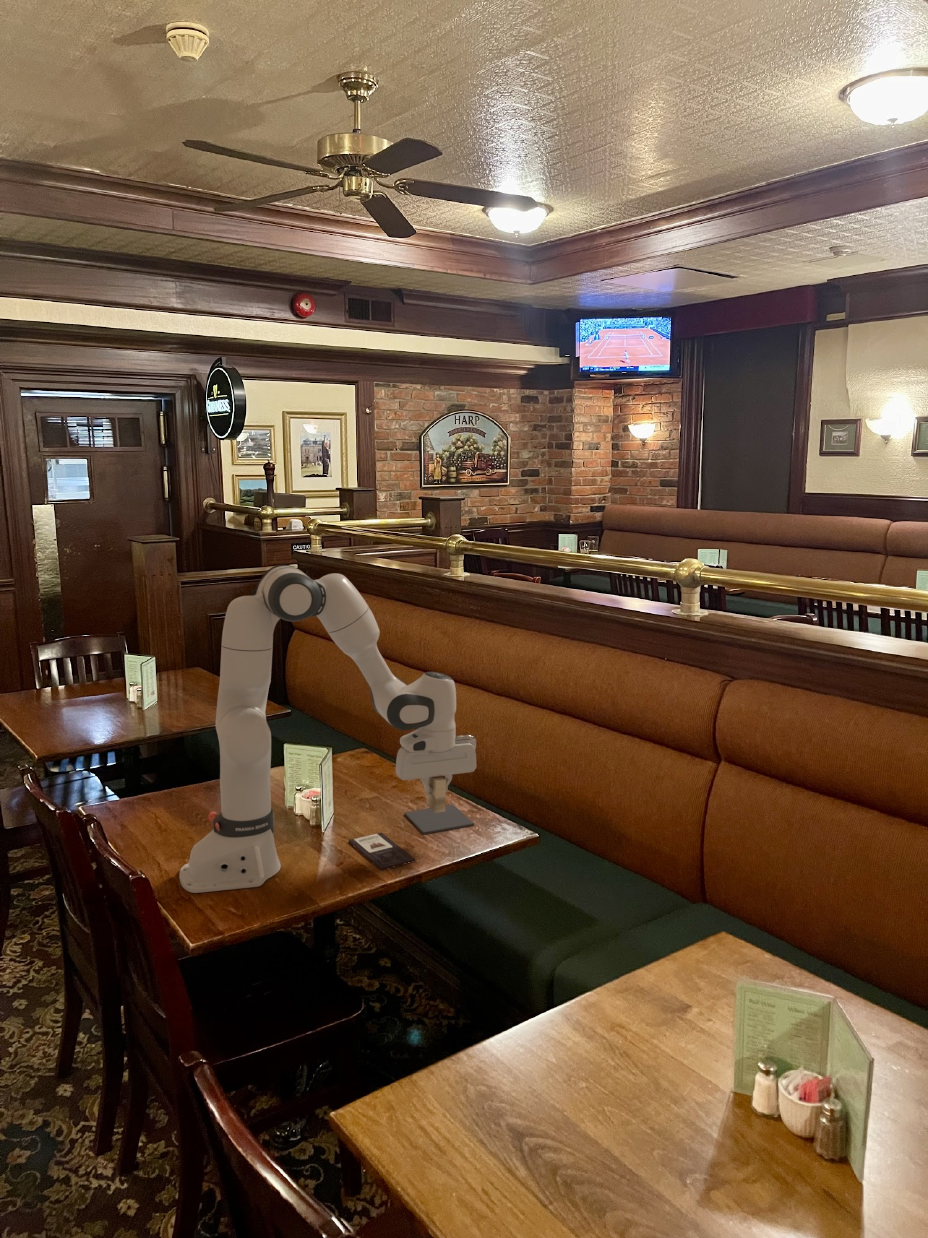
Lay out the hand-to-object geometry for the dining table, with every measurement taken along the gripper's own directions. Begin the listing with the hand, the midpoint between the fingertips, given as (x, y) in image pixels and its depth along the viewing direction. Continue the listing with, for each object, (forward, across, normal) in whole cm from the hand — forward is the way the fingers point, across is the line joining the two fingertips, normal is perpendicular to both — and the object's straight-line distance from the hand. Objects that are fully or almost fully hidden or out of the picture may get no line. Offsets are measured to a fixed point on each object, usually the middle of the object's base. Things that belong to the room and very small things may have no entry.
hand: (436, 792), depth 224 cm
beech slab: (+4, 0, 0) cm, 4 cm away
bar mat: (+13, -6, -12) cm, 18 cm away
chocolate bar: (+14, +14, 0) cm, 20 cm away
